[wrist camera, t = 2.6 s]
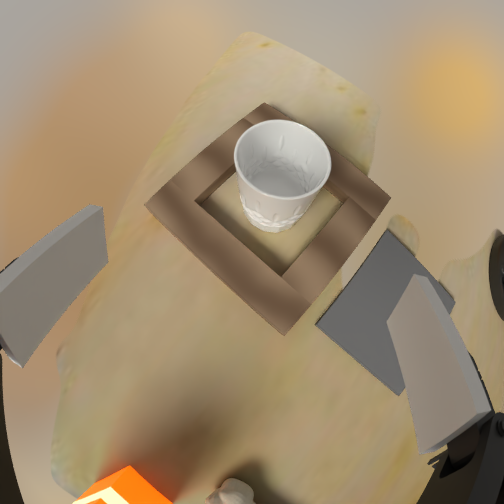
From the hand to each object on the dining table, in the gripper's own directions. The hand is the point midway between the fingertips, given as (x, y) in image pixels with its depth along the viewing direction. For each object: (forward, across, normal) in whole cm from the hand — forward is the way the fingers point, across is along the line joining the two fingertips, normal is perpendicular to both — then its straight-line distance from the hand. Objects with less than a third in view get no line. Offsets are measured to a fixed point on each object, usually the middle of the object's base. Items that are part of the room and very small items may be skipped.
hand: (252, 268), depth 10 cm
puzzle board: (+20, +1, -5) cm, 21 cm away
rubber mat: (+14, +17, -11) cm, 25 cm away
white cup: (+21, +1, -5) cm, 21 cm away
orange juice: (-8, -9, -34) cm, 36 cm away
